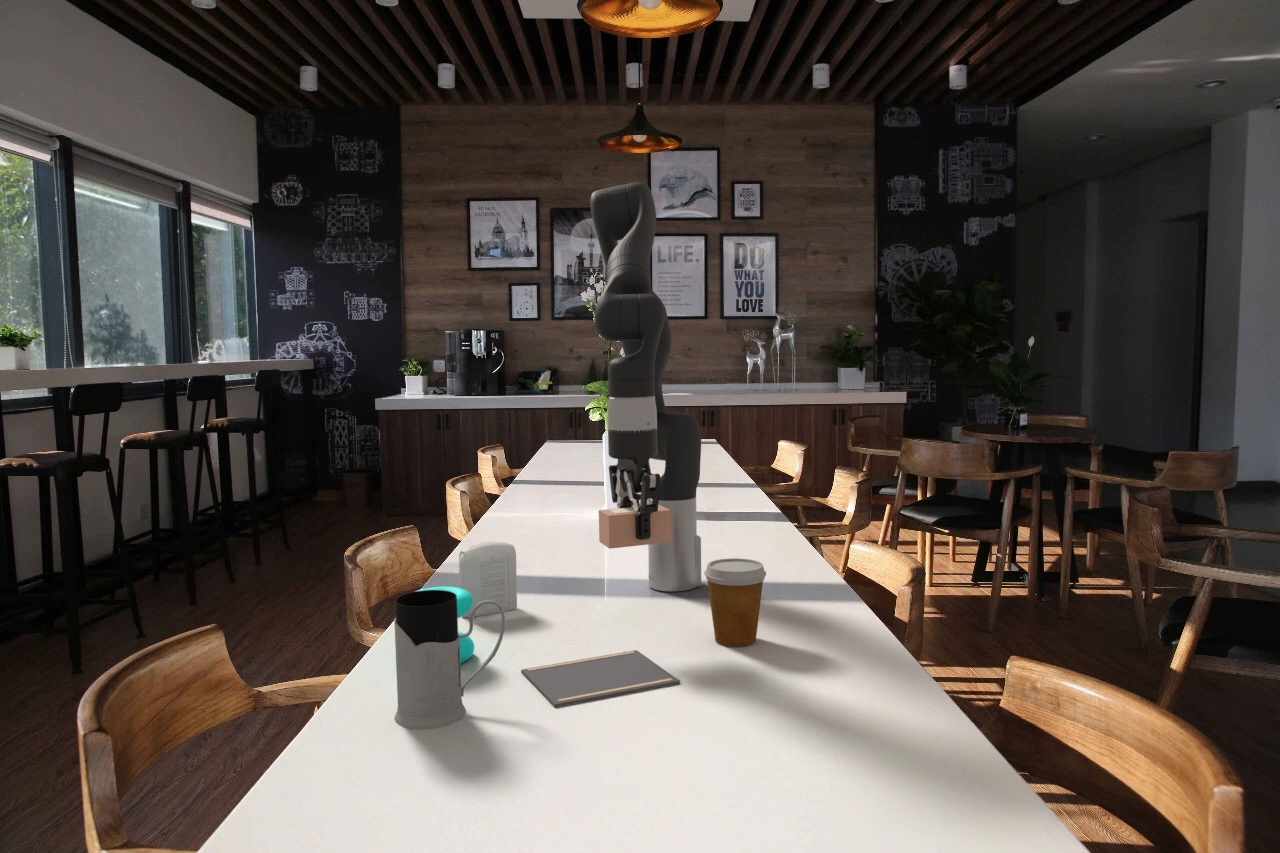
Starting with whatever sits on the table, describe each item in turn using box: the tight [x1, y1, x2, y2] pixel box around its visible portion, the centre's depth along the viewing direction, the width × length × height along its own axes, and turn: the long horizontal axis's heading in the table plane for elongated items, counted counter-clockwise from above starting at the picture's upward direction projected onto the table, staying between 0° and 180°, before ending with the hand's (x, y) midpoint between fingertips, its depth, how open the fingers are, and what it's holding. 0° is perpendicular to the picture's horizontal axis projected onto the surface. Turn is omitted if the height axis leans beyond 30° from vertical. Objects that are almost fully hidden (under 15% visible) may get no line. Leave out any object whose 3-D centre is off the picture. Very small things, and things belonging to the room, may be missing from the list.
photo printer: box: [458, 540, 518, 619], centre depth 158 cm, size 10×4×12 cm, turn 123°
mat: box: [520, 649, 681, 708], centre depth 126 cm, size 18×14×1 cm
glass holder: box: [393, 590, 506, 730], centre depth 115 cm, size 9×14×15 cm, turn 112°
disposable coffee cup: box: [703, 557, 767, 648], centre depth 140 cm, size 10×10×12 cm
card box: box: [598, 505, 671, 550], centre depth 140 cm, size 10×5×5 cm, turn 110°
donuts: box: [414, 586, 475, 664], centre depth 134 cm, size 10×10×10 cm
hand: (635, 534), depth 140 cm, fingers closed on card box, 5 cm apart
